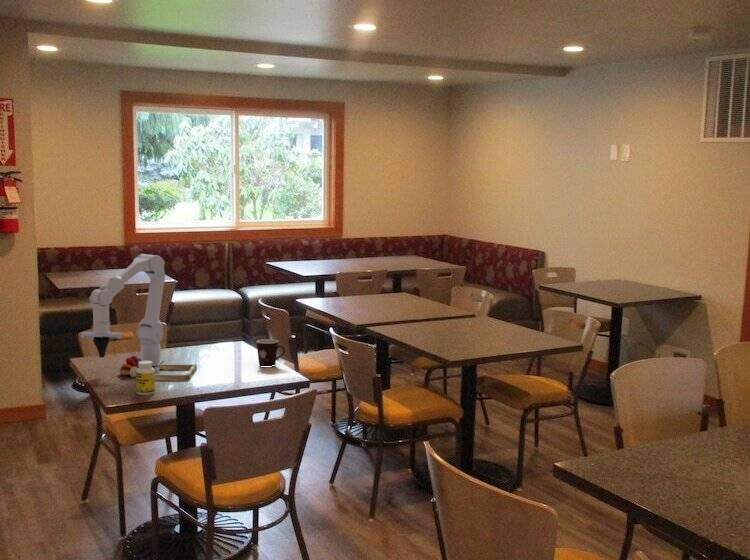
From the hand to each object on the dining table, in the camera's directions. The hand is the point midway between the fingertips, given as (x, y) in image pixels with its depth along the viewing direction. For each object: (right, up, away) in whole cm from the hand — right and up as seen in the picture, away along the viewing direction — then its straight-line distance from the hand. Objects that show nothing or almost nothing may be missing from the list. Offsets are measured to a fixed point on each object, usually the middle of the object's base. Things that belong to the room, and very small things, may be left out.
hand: (102, 356), depth 294 cm
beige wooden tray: (+26, -7, +3) cm, 27 cm away
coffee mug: (+61, -6, +19) cm, 64 cm away
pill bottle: (+23, -11, -23) cm, 35 cm away
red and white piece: (+11, -7, +2) cm, 13 cm away
